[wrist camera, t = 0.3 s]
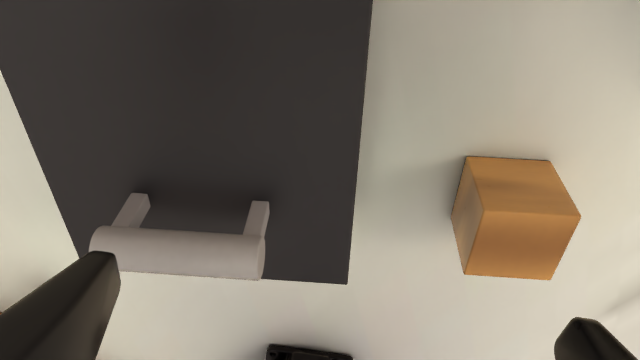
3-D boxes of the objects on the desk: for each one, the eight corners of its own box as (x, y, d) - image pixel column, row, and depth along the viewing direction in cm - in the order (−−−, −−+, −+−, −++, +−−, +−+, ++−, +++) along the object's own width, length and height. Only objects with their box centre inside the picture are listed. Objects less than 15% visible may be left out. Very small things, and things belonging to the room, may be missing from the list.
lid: (347, 273, 22) (345, 355, 19) (89, 256, 23) (42, 332, 19) (373, -17, 14) (377, 34, 11) (-27, -34, 15) (-142, 9, 11)
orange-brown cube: (526, 222, 26) (551, 281, 23) (450, 217, 26) (463, 275, 23) (551, 160, 23) (582, 216, 20) (466, 155, 24) (483, 210, 20)
